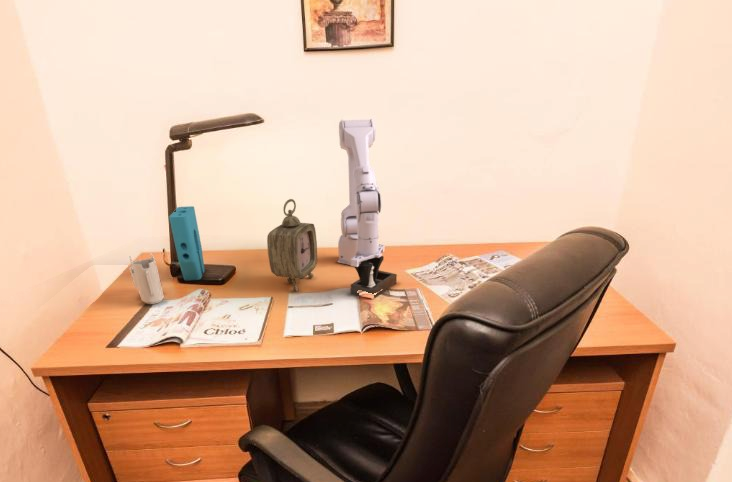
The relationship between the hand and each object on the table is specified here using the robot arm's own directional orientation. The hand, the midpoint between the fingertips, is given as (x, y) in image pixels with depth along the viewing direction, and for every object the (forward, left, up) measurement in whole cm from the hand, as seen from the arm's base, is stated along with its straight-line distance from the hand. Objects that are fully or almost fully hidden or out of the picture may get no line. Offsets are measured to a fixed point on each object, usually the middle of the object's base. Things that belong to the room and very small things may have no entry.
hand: (368, 282), depth 139 cm
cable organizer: (-51, -35, -3) cm, 62 cm away
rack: (0, +3, -3) cm, 4 cm away
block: (-54, -17, -3) cm, 57 cm away
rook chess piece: (0, 0, -3) cm, 3 cm away
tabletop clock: (-22, -6, -3) cm, 23 cm away
